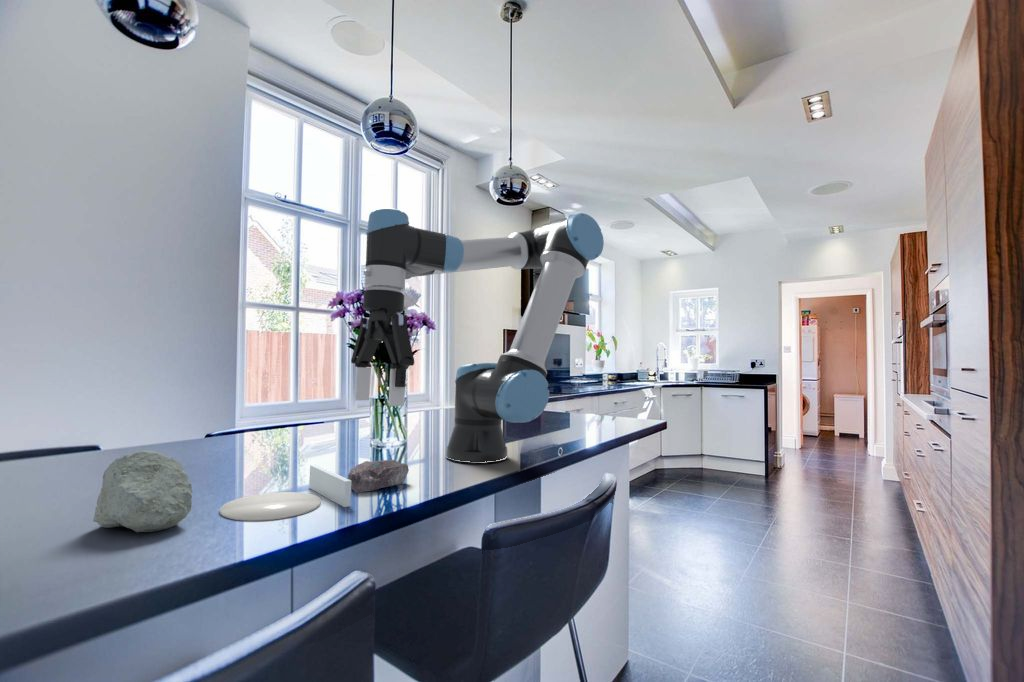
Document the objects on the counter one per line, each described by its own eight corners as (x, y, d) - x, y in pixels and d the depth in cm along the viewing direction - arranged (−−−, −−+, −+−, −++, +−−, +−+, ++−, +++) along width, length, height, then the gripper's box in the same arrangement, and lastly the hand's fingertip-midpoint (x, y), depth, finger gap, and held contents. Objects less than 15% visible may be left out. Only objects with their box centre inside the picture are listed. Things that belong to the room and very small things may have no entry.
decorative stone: (92, 516, 67) (70, 468, 62) (180, 478, 75) (167, 432, 69) (123, 584, 61) (101, 537, 56) (215, 535, 69) (204, 489, 63)
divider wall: (314, 486, 87) (315, 464, 87) (350, 506, 76) (351, 480, 76) (309, 487, 86) (310, 465, 87) (344, 507, 75) (345, 481, 76)
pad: (302, 490, 85) (302, 487, 85) (334, 509, 74) (334, 506, 74) (210, 503, 75) (210, 501, 75) (232, 527, 65) (233, 524, 65)
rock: (334, 489, 86) (336, 463, 87) (379, 478, 96) (380, 454, 97) (367, 497, 83) (369, 469, 83) (411, 484, 93) (412, 460, 93)
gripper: (338, 294, 98) (331, 398, 97) (399, 280, 80) (393, 408, 79) (372, 299, 104) (366, 398, 102) (437, 287, 85) (431, 407, 84)
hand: (378, 403), depth 91 cm, fingers open, 13 cm apart
